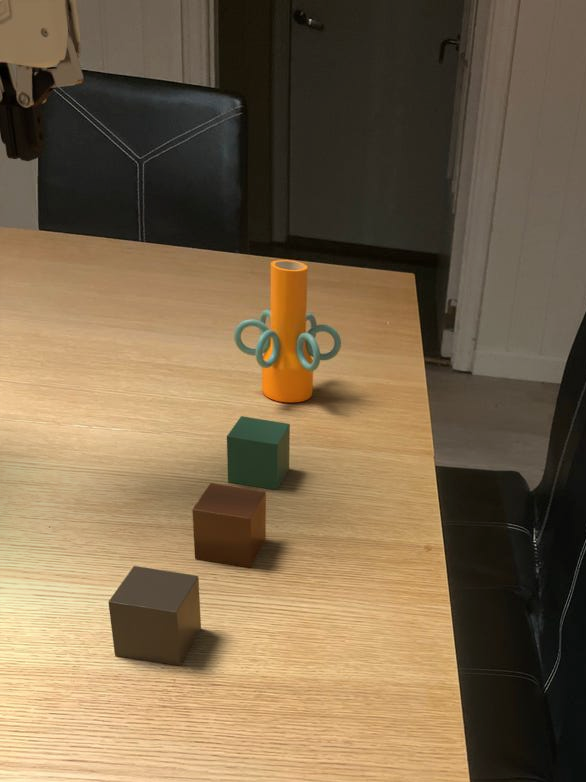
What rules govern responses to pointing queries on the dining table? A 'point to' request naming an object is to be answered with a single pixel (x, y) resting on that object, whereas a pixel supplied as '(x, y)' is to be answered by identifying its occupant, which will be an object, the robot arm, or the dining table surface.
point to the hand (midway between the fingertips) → (25, 156)
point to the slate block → (155, 615)
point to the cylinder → (287, 336)
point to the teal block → (258, 452)
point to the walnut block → (229, 525)
